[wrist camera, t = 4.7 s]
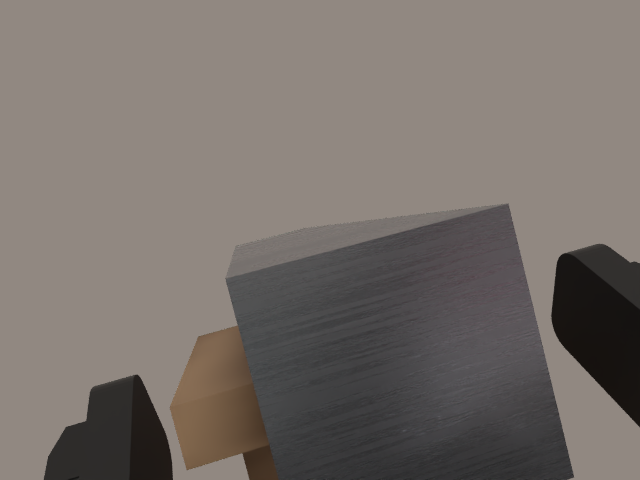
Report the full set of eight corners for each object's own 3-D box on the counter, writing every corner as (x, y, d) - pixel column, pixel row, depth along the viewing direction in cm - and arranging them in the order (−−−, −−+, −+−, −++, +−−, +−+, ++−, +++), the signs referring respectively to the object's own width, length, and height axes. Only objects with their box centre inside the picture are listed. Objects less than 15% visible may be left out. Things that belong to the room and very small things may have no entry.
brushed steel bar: (322, 296, 32) (305, 228, 31) (574, 477, 8) (508, 203, 8) (254, 315, 31) (235, 245, 31) (302, 571, 7) (225, 278, 7)
